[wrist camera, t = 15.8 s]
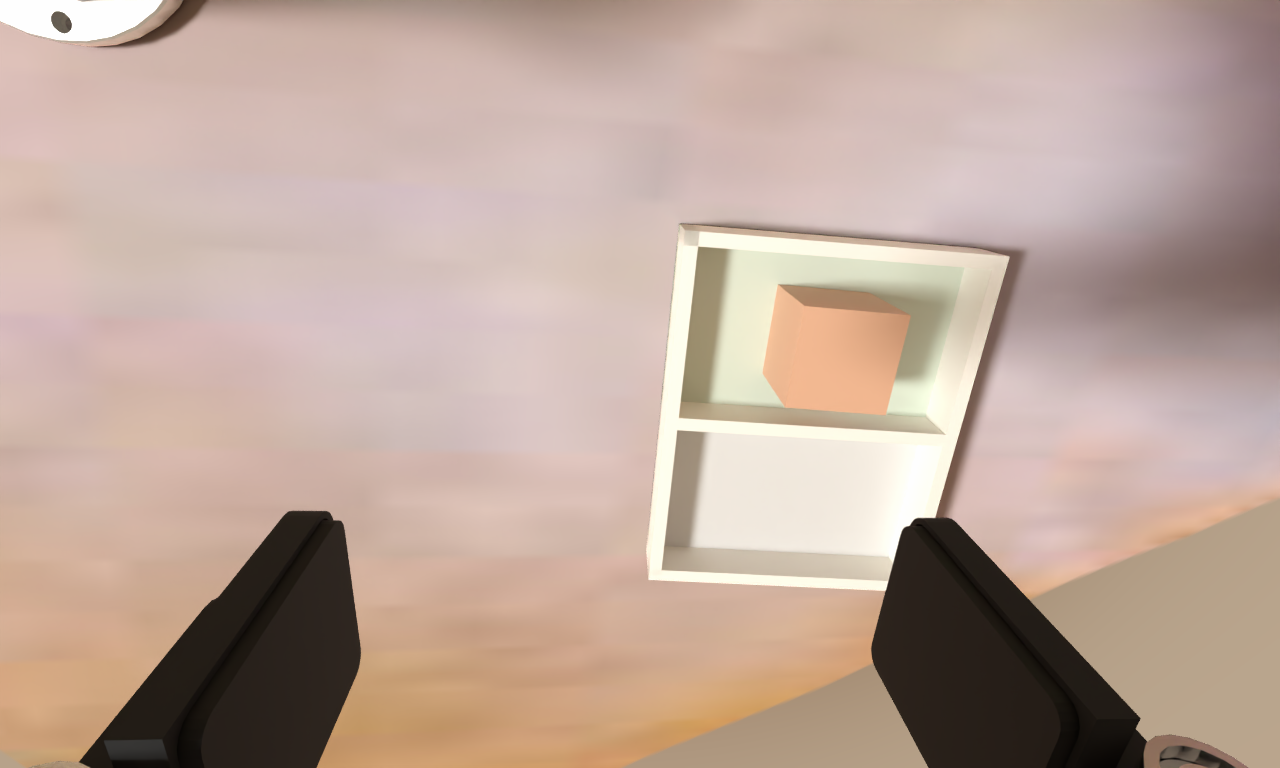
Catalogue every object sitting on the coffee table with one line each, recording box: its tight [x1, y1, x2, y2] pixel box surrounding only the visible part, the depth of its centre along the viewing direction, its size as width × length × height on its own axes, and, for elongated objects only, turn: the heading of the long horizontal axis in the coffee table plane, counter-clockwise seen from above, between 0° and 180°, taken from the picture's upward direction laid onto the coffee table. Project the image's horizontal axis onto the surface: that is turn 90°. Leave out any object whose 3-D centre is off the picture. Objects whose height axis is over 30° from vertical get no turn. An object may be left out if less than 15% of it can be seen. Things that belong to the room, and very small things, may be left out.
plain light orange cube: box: [762, 284, 911, 415], centre depth 31 cm, size 5×5×5 cm
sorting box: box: [646, 224, 1010, 591], centre depth 35 cm, size 20×16×3 cm
